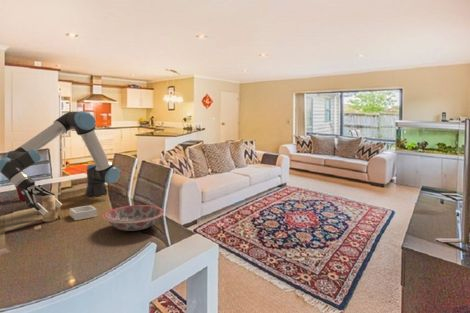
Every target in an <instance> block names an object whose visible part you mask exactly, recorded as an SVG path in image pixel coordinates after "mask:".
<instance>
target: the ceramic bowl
mask: <svg viewBox="0 0 470 313" xmlns="http://www.w3.org/2000/svg"><path fill="white" fill-rule="evenodd" d="M164 214H165V212H164V209H163V208H161V207H159V206H157V205H149V204H148V205H146V204H137V205H136V204H135V205H125V206H120V207H116V208H112V209H110V210H108V211H106V212H104V213H103V220H105V221H107V222H108V223H109V224H110V225H111V226H112V227H114V228H115V229H117V230H120V231H124V232H135V231H141V230H146V229H148V228H149V227H152V226H153V225H154V224H156V223H157V221H158V220H159V219H160V217H162V216H163V215H164Z"/></svg>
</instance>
